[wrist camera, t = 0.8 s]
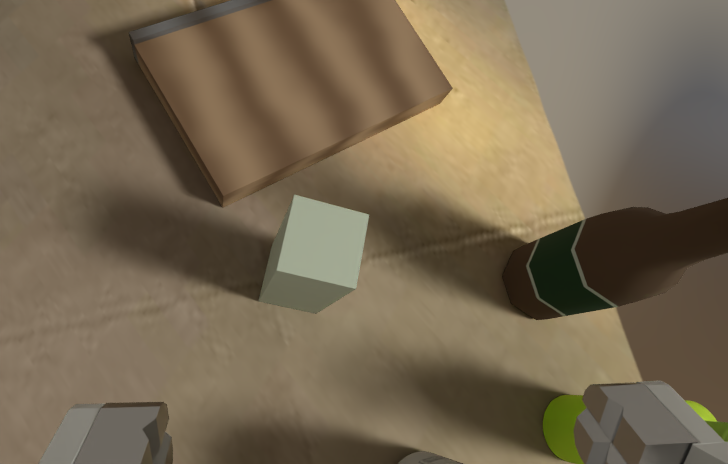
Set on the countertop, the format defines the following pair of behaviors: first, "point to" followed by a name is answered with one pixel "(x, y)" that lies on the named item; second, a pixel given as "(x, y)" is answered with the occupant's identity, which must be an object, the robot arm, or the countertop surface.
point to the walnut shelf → (284, 83)
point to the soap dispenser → (568, 407)
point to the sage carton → (314, 256)
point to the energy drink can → (426, 459)
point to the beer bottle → (613, 259)
